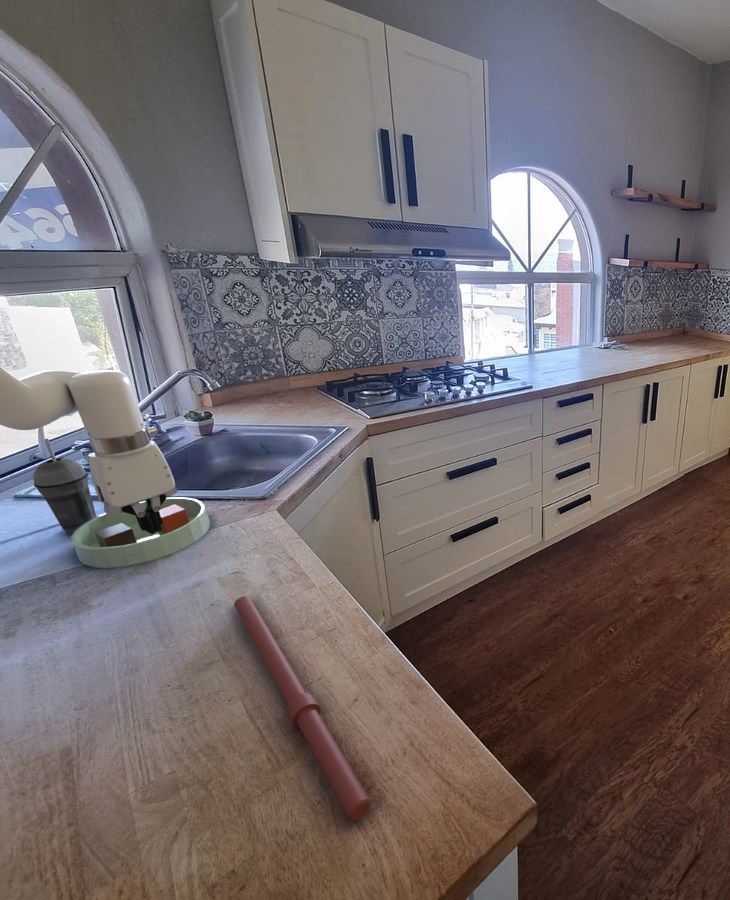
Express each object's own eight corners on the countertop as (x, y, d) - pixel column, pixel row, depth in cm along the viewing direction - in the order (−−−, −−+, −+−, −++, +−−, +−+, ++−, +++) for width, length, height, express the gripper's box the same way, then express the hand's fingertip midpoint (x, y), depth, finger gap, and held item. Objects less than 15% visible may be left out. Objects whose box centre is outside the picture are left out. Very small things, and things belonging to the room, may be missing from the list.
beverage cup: (100, 518, 104) (64, 428, 96) (114, 528, 101) (78, 436, 93) (51, 534, 98) (9, 439, 91) (64, 545, 95) (21, 448, 87)
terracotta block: (167, 535, 98) (161, 517, 96) (157, 530, 99) (151, 512, 98) (191, 526, 101) (185, 509, 100) (180, 521, 103) (175, 504, 101)
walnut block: (111, 557, 91) (104, 538, 89) (101, 551, 92) (94, 532, 91) (138, 546, 94) (131, 528, 92) (128, 540, 96) (121, 522, 94)
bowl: (108, 583, 85) (99, 560, 83) (61, 550, 93) (52, 529, 91) (230, 531, 101) (224, 512, 99) (181, 507, 109) (175, 489, 107)
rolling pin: (378, 810, 52) (373, 790, 51) (347, 833, 50) (342, 813, 49) (256, 605, 81) (251, 589, 80) (233, 614, 79) (228, 598, 78)
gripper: (161, 425, 96) (188, 509, 103) (54, 450, 84) (93, 543, 91) (181, 433, 93) (207, 518, 100) (73, 460, 81) (112, 555, 88)
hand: (153, 530), depth 95 cm, fingers closed
